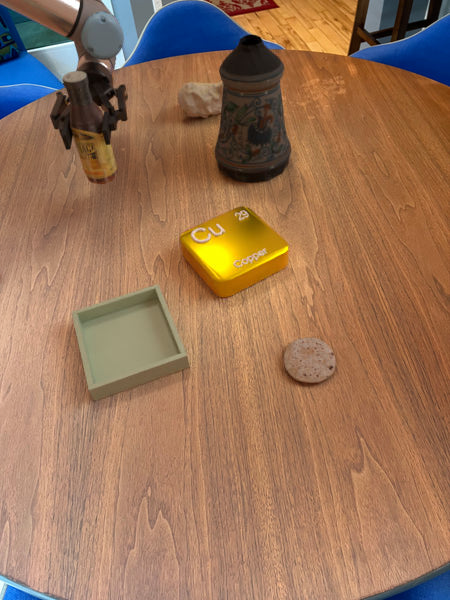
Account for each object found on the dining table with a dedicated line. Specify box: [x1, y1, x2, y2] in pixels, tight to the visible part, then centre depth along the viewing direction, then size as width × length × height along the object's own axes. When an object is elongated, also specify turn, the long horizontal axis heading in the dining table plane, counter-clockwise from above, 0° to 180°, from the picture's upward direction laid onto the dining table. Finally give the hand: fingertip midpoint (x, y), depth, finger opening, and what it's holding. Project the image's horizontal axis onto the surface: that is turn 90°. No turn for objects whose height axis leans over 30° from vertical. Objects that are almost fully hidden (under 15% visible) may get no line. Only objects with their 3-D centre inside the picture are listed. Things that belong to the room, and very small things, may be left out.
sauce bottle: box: [62, 70, 118, 185], centre depth 86 cm, size 7×6×20 cm
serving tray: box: [70, 283, 191, 402], centre depth 74 cm, size 16×15×3 cm
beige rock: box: [177, 79, 223, 119], centre depth 119 cm, size 15×7×15 cm
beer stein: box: [214, 33, 292, 184], centre depth 97 cm, size 16×19×25 cm
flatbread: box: [283, 336, 336, 384], centre depth 71 cm, size 8×8×1 cm
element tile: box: [179, 205, 290, 298], centre depth 85 cm, size 15×15×5 cm
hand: (86, 140), depth 82 cm, fingers closed on sauce bottle, 6 cm apart
